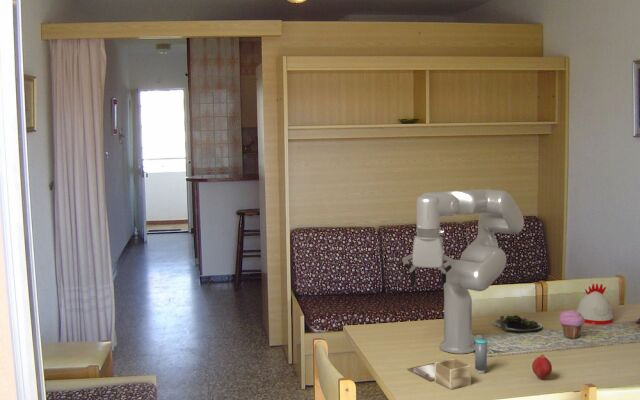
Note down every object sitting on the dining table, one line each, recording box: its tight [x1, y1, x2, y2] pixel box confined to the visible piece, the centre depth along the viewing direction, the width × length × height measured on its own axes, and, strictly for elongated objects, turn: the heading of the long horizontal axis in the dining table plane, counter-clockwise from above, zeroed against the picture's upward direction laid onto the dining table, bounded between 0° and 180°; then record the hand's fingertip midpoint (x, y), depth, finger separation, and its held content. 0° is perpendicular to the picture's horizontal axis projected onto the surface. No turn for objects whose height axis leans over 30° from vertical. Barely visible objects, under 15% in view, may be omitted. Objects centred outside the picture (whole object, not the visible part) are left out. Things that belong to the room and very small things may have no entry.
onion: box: [531, 353, 553, 380], centre depth 205 cm, size 6×6×8 cm
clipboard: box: [407, 359, 446, 383], centre depth 213 cm, size 16×12×1 cm
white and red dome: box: [576, 283, 614, 326], centre depth 269 cm, size 14×14×15 cm
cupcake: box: [558, 310, 585, 339], centre depth 247 cm, size 9×9×10 cm
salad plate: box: [493, 314, 544, 334], centre depth 262 cm, size 19×18×5 cm
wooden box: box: [434, 358, 472, 391], centre depth 203 cm, size 8×8×6 cm
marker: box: [474, 338, 488, 374], centre depth 212 cm, size 4×4×10 cm
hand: (428, 284), depth 221 cm, fingers open, 9 cm apart
